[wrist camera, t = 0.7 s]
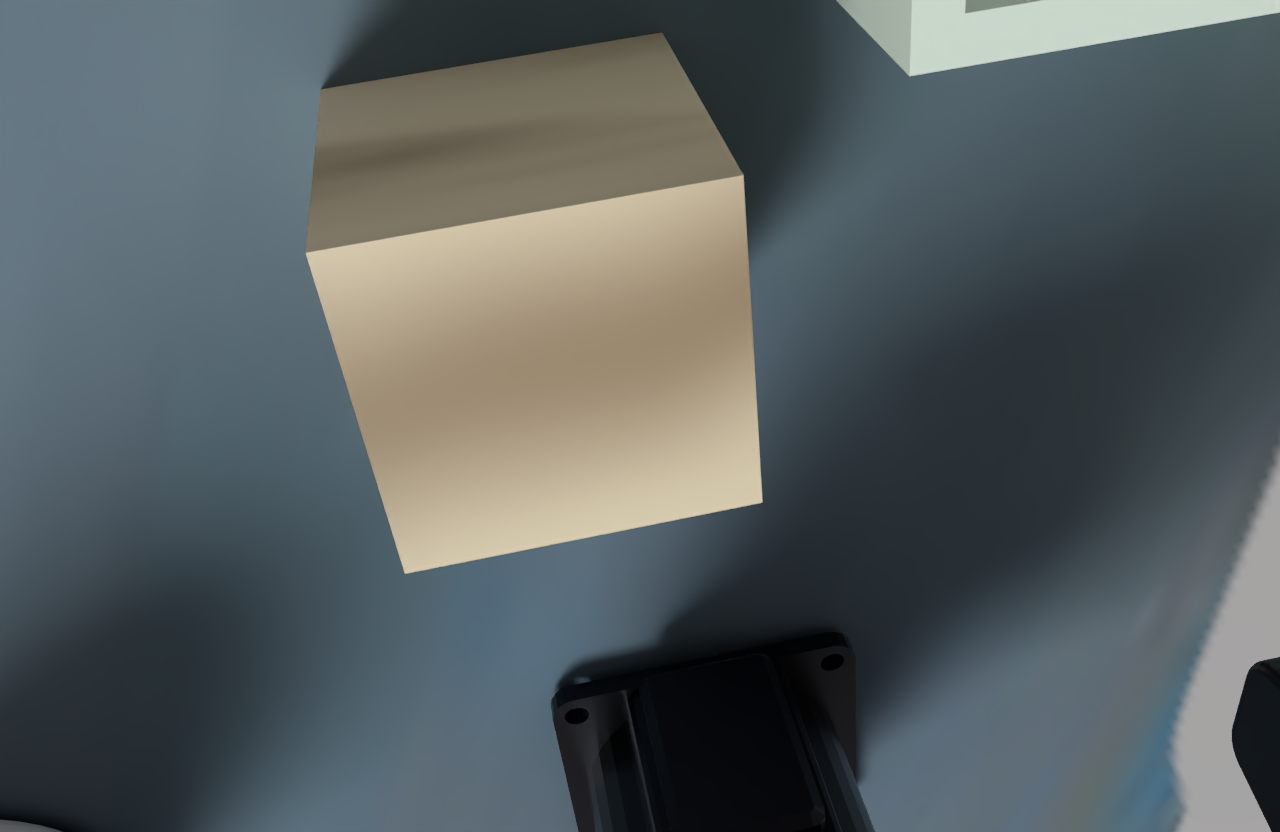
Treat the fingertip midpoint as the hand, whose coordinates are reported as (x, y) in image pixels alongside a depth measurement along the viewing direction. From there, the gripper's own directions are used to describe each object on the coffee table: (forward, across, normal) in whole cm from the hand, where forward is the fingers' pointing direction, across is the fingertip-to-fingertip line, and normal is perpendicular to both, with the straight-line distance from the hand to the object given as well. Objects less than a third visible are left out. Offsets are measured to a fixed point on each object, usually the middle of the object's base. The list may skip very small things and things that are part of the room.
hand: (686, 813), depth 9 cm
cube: (+12, 0, +1) cm, 12 cm away
